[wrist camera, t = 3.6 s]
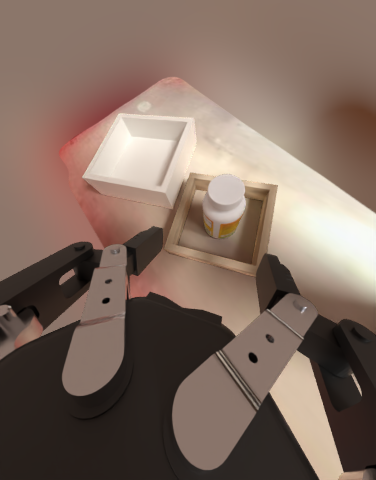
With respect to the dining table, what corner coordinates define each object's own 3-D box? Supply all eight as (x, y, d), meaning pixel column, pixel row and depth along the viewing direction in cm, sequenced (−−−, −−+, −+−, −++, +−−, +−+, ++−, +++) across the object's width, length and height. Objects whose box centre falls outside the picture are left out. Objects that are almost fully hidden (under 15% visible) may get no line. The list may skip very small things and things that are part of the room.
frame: (270, 196, 25) (277, 185, 22) (256, 277, 22) (263, 275, 19) (192, 184, 28) (190, 172, 25) (168, 252, 25) (163, 248, 22)
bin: (196, 143, 31) (194, 118, 27) (172, 209, 27) (165, 192, 22) (131, 137, 35) (119, 113, 30) (101, 194, 31) (82, 177, 26)
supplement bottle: (240, 215, 25) (258, 173, 16) (231, 244, 24) (244, 217, 15) (210, 207, 26) (210, 164, 17) (199, 233, 25) (194, 203, 16)
